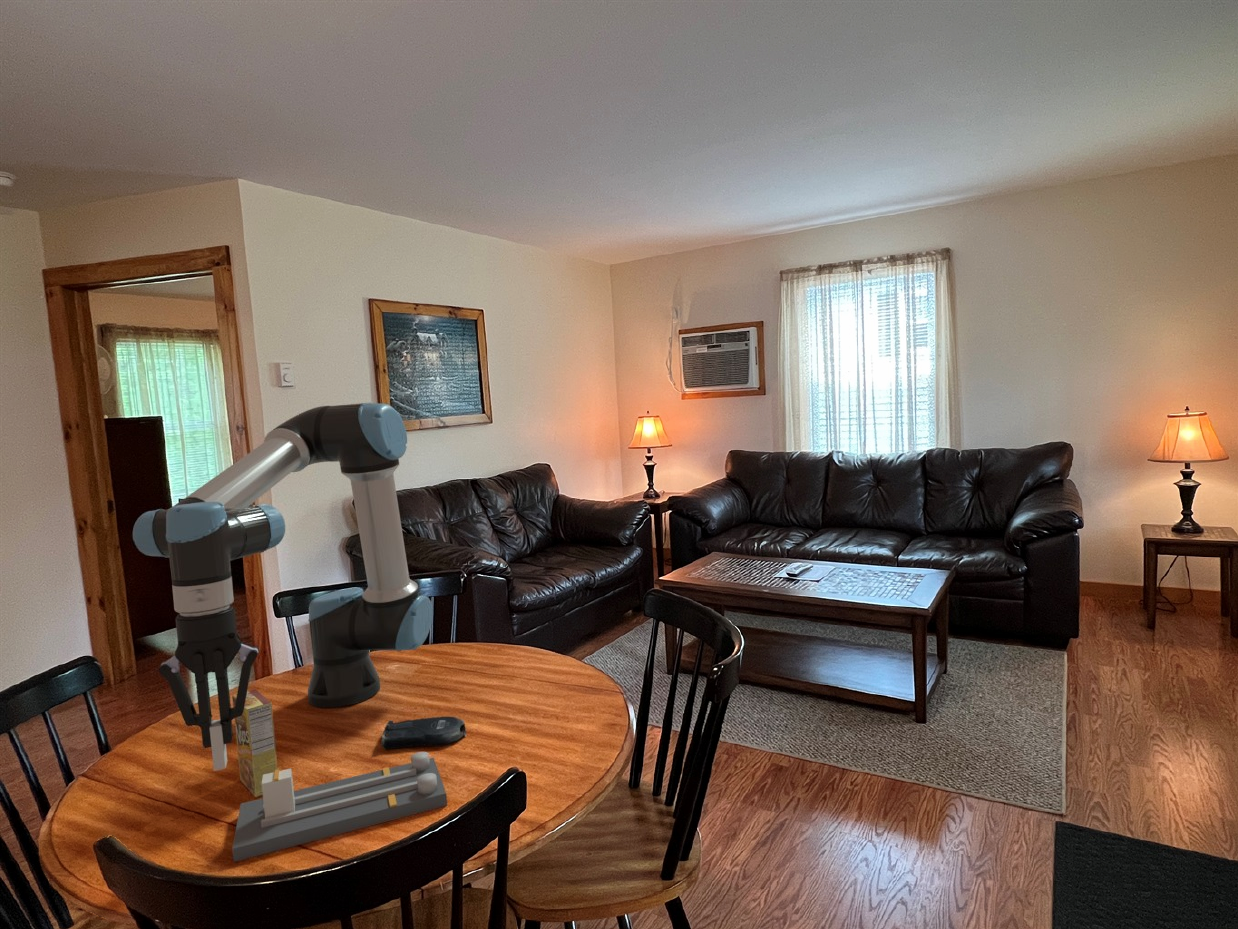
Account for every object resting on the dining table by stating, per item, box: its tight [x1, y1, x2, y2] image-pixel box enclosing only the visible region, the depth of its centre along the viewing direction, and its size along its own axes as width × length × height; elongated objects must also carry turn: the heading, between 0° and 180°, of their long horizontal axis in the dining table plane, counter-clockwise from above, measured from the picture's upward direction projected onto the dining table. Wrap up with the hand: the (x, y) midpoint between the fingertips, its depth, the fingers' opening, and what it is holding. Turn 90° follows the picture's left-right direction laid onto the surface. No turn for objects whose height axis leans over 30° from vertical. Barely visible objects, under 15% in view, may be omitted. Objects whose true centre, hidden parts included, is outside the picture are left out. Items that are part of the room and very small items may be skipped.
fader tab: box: [262, 768, 295, 819], centre depth 110 cm, size 3×4×6 cm
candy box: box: [232, 688, 278, 799], centre depth 123 cm, size 9×4×15 cm, turn 43°
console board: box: [232, 751, 448, 863], centre depth 114 cm, size 13×30×4 cm, turn 113°
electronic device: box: [380, 716, 467, 750], centre depth 138 cm, size 9×6×15 cm
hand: (220, 765), depth 107 cm, fingers closed
